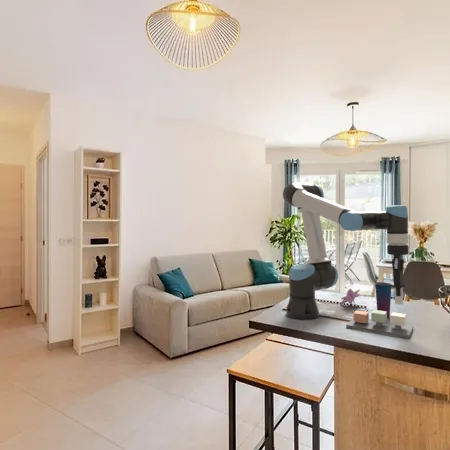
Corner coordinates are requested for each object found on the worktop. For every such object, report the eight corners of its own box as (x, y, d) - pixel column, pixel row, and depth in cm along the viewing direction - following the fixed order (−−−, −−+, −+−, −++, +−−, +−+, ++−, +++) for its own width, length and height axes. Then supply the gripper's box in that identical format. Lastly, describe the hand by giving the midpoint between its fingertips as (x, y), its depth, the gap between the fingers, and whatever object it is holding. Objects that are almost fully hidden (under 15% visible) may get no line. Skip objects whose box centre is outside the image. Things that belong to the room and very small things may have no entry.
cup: (393, 318, 147) (393, 285, 147) (377, 318, 149) (377, 285, 148) (389, 314, 154) (389, 282, 154) (373, 313, 155) (373, 282, 155)
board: (346, 327, 136) (346, 319, 136) (354, 319, 147) (353, 312, 147) (409, 338, 123) (409, 329, 123) (413, 328, 133) (412, 320, 133)
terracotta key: (353, 321, 138) (353, 313, 138) (356, 318, 142) (356, 310, 142) (366, 323, 135) (366, 315, 135) (368, 320, 139) (368, 312, 139)
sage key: (371, 321, 134) (371, 312, 134) (373, 318, 138) (373, 309, 138) (384, 323, 131) (384, 314, 131) (386, 319, 135) (386, 311, 135)
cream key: (390, 324, 130) (390, 315, 130) (392, 320, 134) (392, 312, 134) (404, 326, 127) (404, 317, 127) (406, 322, 131) (406, 314, 131)
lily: (364, 306, 171) (356, 289, 175) (370, 303, 161) (361, 284, 164) (342, 314, 172) (335, 296, 176) (346, 311, 161) (338, 292, 165)
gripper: (406, 245, 123) (407, 308, 123) (410, 243, 133) (411, 301, 133) (384, 245, 127) (385, 306, 127) (389, 243, 138) (391, 299, 138)
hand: (399, 303), depth 130 cm, fingers closed
